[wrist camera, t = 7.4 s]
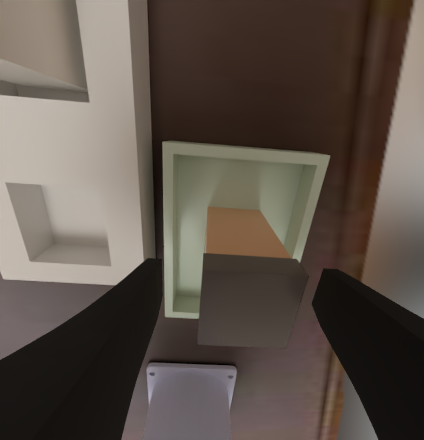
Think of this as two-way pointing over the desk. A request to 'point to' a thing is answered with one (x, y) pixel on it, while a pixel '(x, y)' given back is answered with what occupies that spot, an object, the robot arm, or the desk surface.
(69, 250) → the block
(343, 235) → the desk surface
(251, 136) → the desk surface
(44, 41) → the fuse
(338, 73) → the desk surface
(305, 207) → the parts tray
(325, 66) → the desk surface
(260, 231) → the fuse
